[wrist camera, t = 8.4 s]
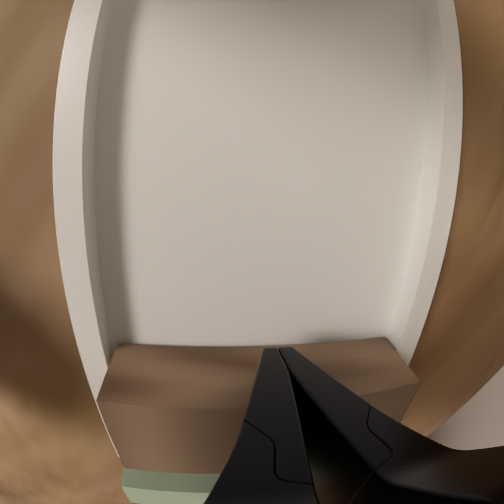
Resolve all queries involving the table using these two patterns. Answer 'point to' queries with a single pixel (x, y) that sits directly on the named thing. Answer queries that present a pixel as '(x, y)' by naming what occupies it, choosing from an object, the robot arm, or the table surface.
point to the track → (252, 177)
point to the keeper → (223, 397)
